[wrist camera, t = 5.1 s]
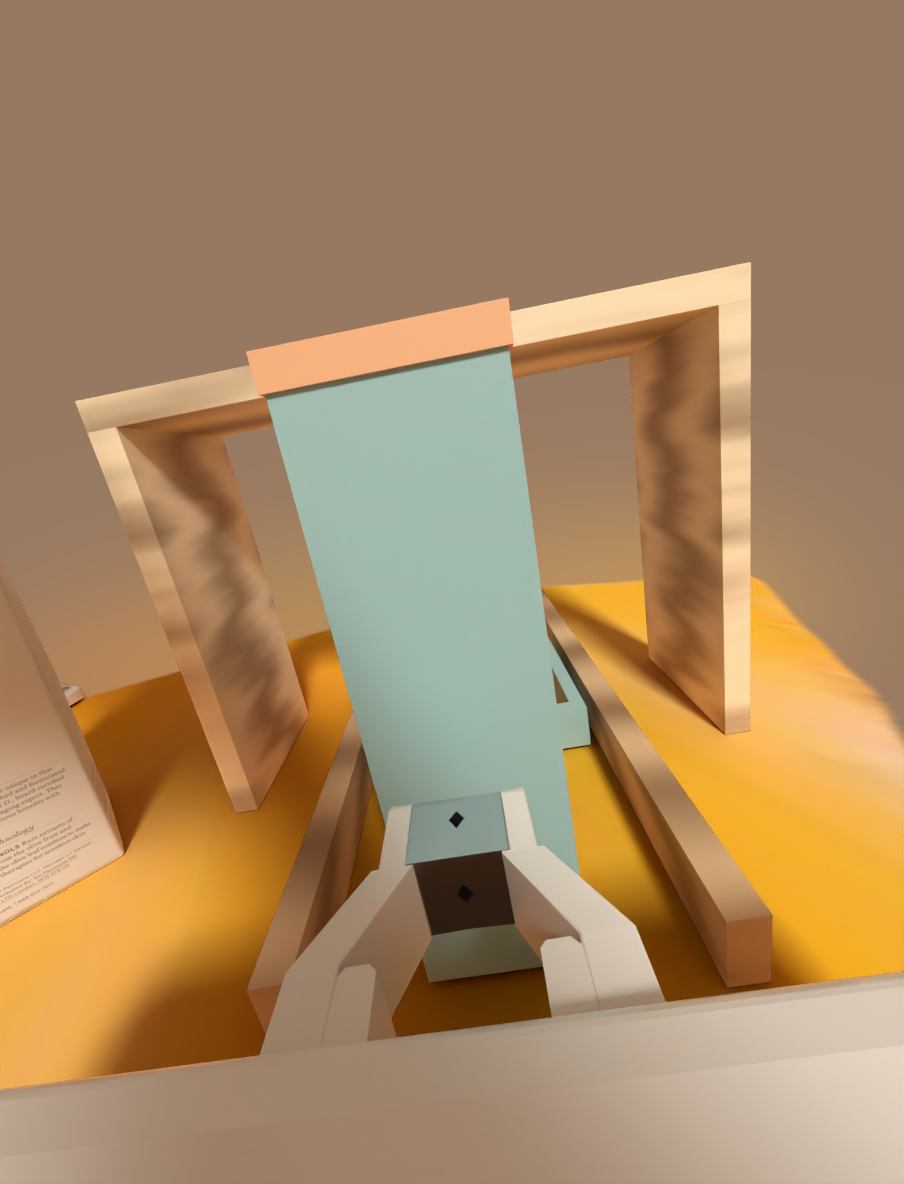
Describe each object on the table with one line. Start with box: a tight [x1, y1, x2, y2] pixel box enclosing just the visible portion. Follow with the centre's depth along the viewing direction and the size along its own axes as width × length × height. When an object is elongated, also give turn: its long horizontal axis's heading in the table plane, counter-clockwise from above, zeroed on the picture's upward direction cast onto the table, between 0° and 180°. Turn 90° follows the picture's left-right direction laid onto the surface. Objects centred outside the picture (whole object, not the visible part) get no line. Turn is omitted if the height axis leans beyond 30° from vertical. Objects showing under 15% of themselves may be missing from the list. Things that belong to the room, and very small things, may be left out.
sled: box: [246, 298, 591, 983], centre depth 21 cm, size 21×11×18 cm, turn 0°
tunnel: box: [75, 262, 772, 1034], centre depth 26 cm, size 34×26×20 cm
